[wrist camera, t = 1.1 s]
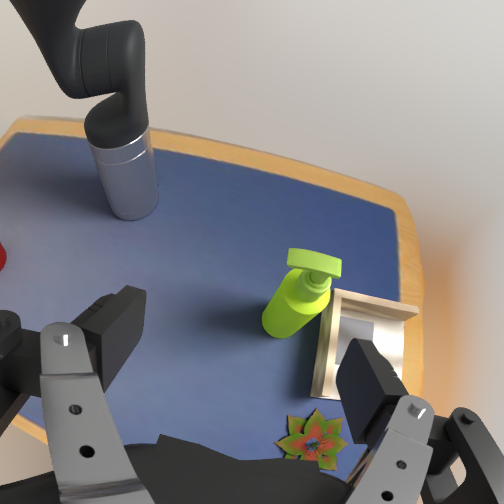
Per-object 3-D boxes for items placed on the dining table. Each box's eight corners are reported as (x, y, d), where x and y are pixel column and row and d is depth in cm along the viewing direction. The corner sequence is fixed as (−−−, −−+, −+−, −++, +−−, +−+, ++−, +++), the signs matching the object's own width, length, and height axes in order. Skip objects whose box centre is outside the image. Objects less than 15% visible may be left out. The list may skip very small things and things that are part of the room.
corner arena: (323, 299, 48) (334, 288, 44) (402, 315, 49) (418, 306, 45) (309, 396, 41) (322, 395, 36) (397, 403, 41) (414, 401, 37)
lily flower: (342, 477, 35) (355, 483, 31) (266, 478, 34) (273, 486, 30) (351, 408, 41) (365, 408, 37) (278, 403, 40) (286, 404, 36)
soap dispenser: (259, 296, 47) (293, 228, 30) (301, 306, 47) (357, 245, 30) (251, 332, 44) (284, 282, 27) (295, 342, 44) (354, 298, 27)
